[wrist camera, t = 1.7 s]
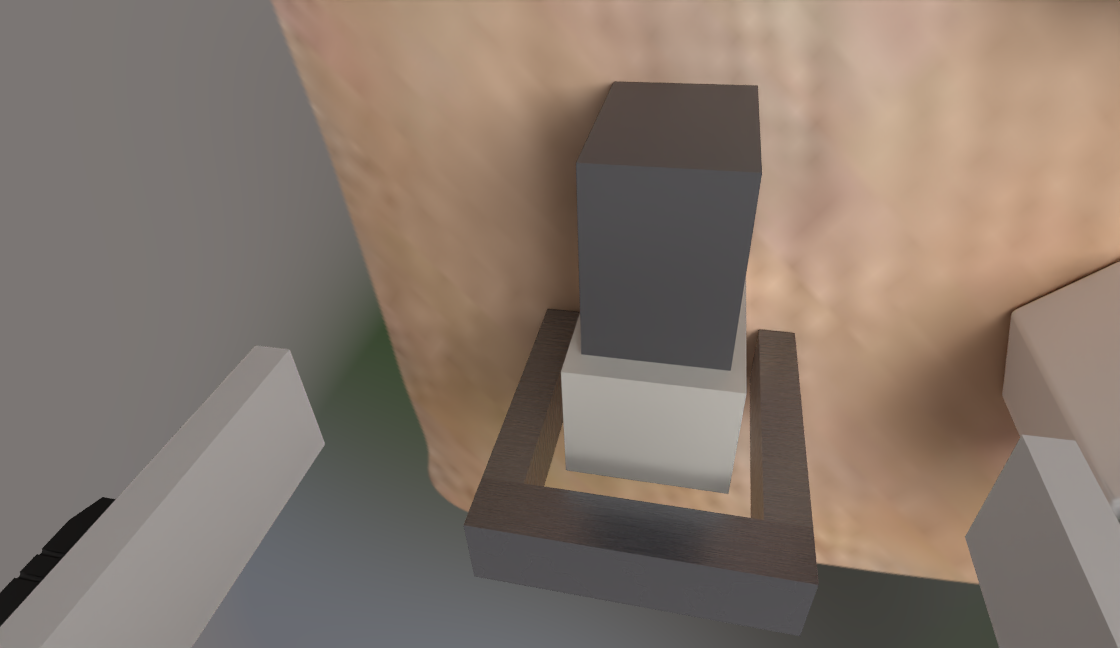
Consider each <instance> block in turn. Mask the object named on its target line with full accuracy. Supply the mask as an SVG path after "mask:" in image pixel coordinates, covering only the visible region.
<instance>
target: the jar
mask: <svg viewBox="0 0 1120 648" xmlns="http://www.w3.org/2000/svg"><path fill="white" fill-rule="evenodd" d="M1002 396H1003V399H1004V401H1005V404H1006V406H1007V408H1008V410H1009V413H1010V415H1011V417H1012V420H1013V422H1014V424H1015V427H1016V429H1017V431H1018V433H1019V436H1020V437H1021V435H1030V436H1039V437H1048V438H1056V439H1065V440H1073V441H1076V442H1077V444H1078V446H1079V448H1080V450H1081V452H1082V454H1083V456H1084V457H1085V459H1086V461H1087V463H1088V465H1089V467H1090V469H1091V471H1092V473H1093V474H1094V476H1095V478H1096V480H1097V482H1098V484H1099V486H1100V488H1101V489H1102V491H1103V493H1104V495H1105V497H1106V499H1107V501H1108V503H1109V505H1110V506H1111V508H1112V510H1113V512H1114V514H1115V516H1116V518H1117V520H1118V521H1119V523H1120V261H1119V262H1116V263H1114V264H1112V265H1110V266H1108V267H1106V268H1103V269H1101V270H1099V271H1097V272H1095V273H1093V274H1091V275H1088V276H1086V277H1084V278H1082V279H1080V280H1078V281H1076V282H1073V283H1071V284H1069V285H1067V286H1065V287H1063V288H1061V289H1058V290H1056V291H1054V292H1052V293H1050V294H1048V295H1045V296H1043V297H1041V298H1039V299H1037V300H1035V301H1033V302H1030V303H1028V304H1026V305H1024V306H1022V307H1020V308H1018V309H1016V310H1014V311H1013V312H1012V314H1011V321H1010V330H1009V338H1008V347H1007V356H1006V365H1005V374H1004V383H1003V391H1002Z"/></svg>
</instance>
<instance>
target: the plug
mask: <svg viewBox="0 0 1120 648" xmlns="http://www.w3.org/2000/svg"><path fill="white" fill-rule="evenodd" d="M761 176H762V163H761V142H760V122H759V101H758V86H752V85H717V84H683V83H648V82H614V83H613V85H612V87H611V89H610V91H609V93H608V95H607V98H606V100H605V102H604V104H603V106H602V108H601V110H600V113H599V115H598V117H597V119H596V121H595V123H594V125H593V128H592V130H591V132H590V134H589V136H588V138H587V140H586V143H585V145H584V147H583V149H582V151H581V153H580V155H579V158H578V160H577V162H576V179H577V216H578V253H579V289H580V314H579V317H578V320H577V323H576V327H575V330H574V333H573V336H572V339H571V342H570V345H569V348H568V351H567V354H566V358H565V361H564V364H563V367H562V370H561V384H562V403H563V421H564V440H565V459H566V470H568V471H575V472H582V473H589V474H596V475H602V476H609V477H616V478H623V479H630V480H637V481H644V482H650V483H657V484H664V485H671V486H678V487H685V488H692V489H698V490H705V491H712V492H719V493H726V494H728V492H729V487H730V481H731V476H732V470H733V465H734V459H735V454H736V449H737V443H738V438H739V432H740V427H741V421H742V416H743V410H744V405H745V399H746V394H747V390H746V271H747V265H748V258H749V252H750V246H751V239H752V233H753V227H754V220H755V214H756V208H757V201H758V195H759V189H760V182H761Z"/></svg>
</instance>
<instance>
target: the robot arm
mask: <svg viewBox="0 0 1120 648" xmlns="http://www.w3.org/2000/svg"><path fill="white" fill-rule="evenodd" d="M324 445H325V443H324V440H323V437H322V434H321V432H320V429H319V427H318V424H317V421H316V418H315V416H314V413H313V410H312V408H311V405H310V403H309V400H308V397H307V394H306V392H305V389H304V386H303V384H302V381H301V379H300V376H299V373H298V370H297V368H296V365H295V363H294V360H293V357H292V355H291V352H290V349H282V348H274V347H264V346H256V345H255V347H254V348H253V349H252V350H251V351H250V352H249V353H248V354H247V355H246V356H245V357H244V359H243V360H242V361H241V362H240V363H239V364H238V365H237V366H236V367H235V368H234V370H233V371H232V372H231V373H230V374H229V375H228V376H227V377H226V379H224V381H223V382H222V383H221V384H220V385H219V386H218V387H217V388H216V390H215V391H214V392H213V393H212V394H211V395H210V396H209V397H208V399H206V401H205V402H204V403H203V404H202V405H201V406H200V407H199V408H198V409H197V410H196V412H195V413H194V414H193V415H192V416H191V417H190V418H189V419H188V420H187V421H186V423H185V424H184V425H183V426H182V427H181V428H180V429H179V430H178V431H177V432H176V434H175V435H174V436H173V437H172V438H171V439H170V440H169V441H168V442H167V443H166V445H165V446H164V447H163V448H162V449H161V450H160V451H159V452H158V453H157V454H156V456H155V457H154V458H153V459H152V460H151V461H150V462H149V463H148V465H147V466H146V467H145V468H144V469H143V470H142V471H141V472H140V473H139V474H138V475H137V477H136V478H135V479H134V480H133V481H132V482H131V483H130V484H129V486H127V488H126V489H125V490H124V491H123V492H122V493H121V494H120V495H119V497H118V498H117V499H110V498H104V497H102V498H101V499H99V500H98V501H96V502H95V503H93V504H92V505H90V506H89V507H87V508H86V509H85V510H83V511H82V512H80V513H79V514H77V515H76V516H74V517H73V518H71V519H70V520H69V521H68V522H67V523H66V524H65V525H64V526H63V527H62V528H61V529H60V530H59V531H58V532H57V533H56V535H55V536H54V537H53V538H52V539H51V540H50V541H49V542H48V543H47V544H46V545H45V546H44V547H43V548H42V553H41V554H40V555H38V554H37V555H36V556H35V557H34V558H33V559H32V560H31V561H30V562H29V563H28V564H27V565H26V566H25V567H24V568H23V569H22V570H21V571H20V576H19V577H18V578H14V579H13V580H12V581H11V582H10V583H9V584H8V585H7V586H6V587H5V588H4V590H2V592H1V593H0V648H192V646H193V645H194V643H195V642H196V640H197V639H198V637H199V636H200V634H201V632H202V631H203V629H204V628H205V626H206V625H207V623H208V622H209V620H210V619H211V617H212V616H213V614H214V613H215V611H216V610H217V608H218V607H219V605H220V604H221V602H222V600H223V599H224V597H225V596H226V594H227V593H228V591H229V590H230V588H231V587H232V585H233V584H234V582H235V581H236V579H237V578H238V576H239V575H240V573H241V571H242V570H243V568H244V567H245V565H246V564H247V562H248V561H249V559H250V557H251V556H252V555H253V553H254V551H255V550H256V549H257V547H258V545H259V544H260V543H261V541H262V539H263V538H264V536H265V535H266V533H267V532H268V530H269V529H270V527H271V526H272V524H273V523H274V521H275V520H276V518H277V516H278V515H279V514H280V512H281V510H282V509H283V507H284V506H285V504H286V503H287V501H288V500H289V498H290V497H291V495H292V494H293V492H294V491H295V489H296V488H297V486H298V484H299V483H300V481H301V480H302V478H303V477H304V475H305V474H306V472H307V471H308V469H309V468H310V466H311V465H312V463H313V462H314V460H315V459H316V457H317V456H318V454H319V453H320V451H321V449H322V448H323V446H324ZM965 538H966V541H967V545H968V548H969V551H970V554H971V558H972V561H973V564H974V567H975V571H976V574H977V577H978V580H979V584H980V587H981V590H982V593H983V596H984V599H985V603H986V606H987V609H988V612H989V616H990V619H991V622H992V625H993V629H994V632H995V635H996V639H997V642H998V645H999V648H1120V523H1119V521H1118V520H1117V518H1116V516H1115V514H1114V512H1113V510H1112V508H1111V506H1110V505H1109V503H1108V501H1107V499H1106V497H1105V495H1104V493H1103V491H1102V489H1101V488H1100V486H1099V484H1098V482H1097V480H1096V478H1095V476H1094V474H1093V473H1092V471H1091V469H1090V467H1089V465H1088V463H1087V461H1086V459H1085V457H1084V456H1083V454H1082V452H1081V450H1080V448H1079V446H1078V444H1077V442H1076V441H1073V440H1065V439H1056V438H1048V437H1039V436H1030V435H1021V437H1020V439H1019V441H1018V443H1017V444H1016V446H1015V448H1014V450H1013V452H1012V453H1011V455H1010V457H1009V459H1008V461H1007V462H1006V464H1005V466H1004V468H1003V470H1002V471H1001V473H1000V475H999V477H998V479H997V480H996V482H995V484H994V486H993V488H992V489H991V491H990V493H989V495H988V497H987V498H986V500H985V502H984V504H983V506H982V507H981V509H980V511H979V513H978V515H977V516H976V518H975V520H974V522H973V524H972V525H971V527H970V529H969V531H968V533H967V534H966V536H965Z"/></svg>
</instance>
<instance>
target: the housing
mask: <svg viewBox="0 0 1120 648" xmlns="http://www.w3.org/2000/svg"><path fill="white" fill-rule="evenodd" d="M578 317H579V312H574V311H564V310H554V309H548V310H547V312H546V315H545V317H544V320H543V322H542V325H541V328H540V330H539V333H538V335H537V338H536V340H535V343H534V346H533V348H532V351H531V353H530V356H529V358H528V361H527V364H526V366H525V369H524V371H523V374H522V376H521V379H520V382H519V384H518V387H517V389H516V392H515V394H514V397H513V399H512V402H511V405H510V407H509V410H508V412H507V415H506V417H505V420H504V423H503V425H502V428H501V430H500V433H499V435H498V438H497V441H496V443H495V446H494V448H493V451H492V453H491V456H490V458H489V461H488V464H487V466H486V469H485V471H484V474H483V476H482V479H481V482H480V484H479V487H478V489H477V492H476V494H475V497H474V500H473V502H472V505H471V507H470V510H469V512H468V515H467V518H466V520H465V523H464V530H465V534H466V538H467V543H468V548H469V553H470V557H471V562H472V567H473V571H474V576H476V577H481V578H487V579H492V580H498V581H503V582H509V583H514V584H519V585H525V586H530V587H536V588H542V589H546V590H552V591H557V592H563V593H568V594H574V595H579V596H585V597H591V598H595V599H601V600H606V601H612V602H617V603H623V604H628V605H634V606H639V607H645V608H650V609H655V610H661V611H666V612H672V613H677V614H683V615H688V616H694V617H699V618H705V619H710V620H715V621H721V622H726V623H732V624H737V625H743V626H748V627H753V628H759V629H764V630H771V631H775V632H781V633H786V634H792V635H797V636H800V634H801V631H802V629H803V626H804V623H805V621H806V618H807V615H808V612H809V610H810V607H811V604H812V601H813V599H814V596H815V593H816V590H817V588H818V575H817V564H816V553H815V543H814V532H813V521H812V511H811V500H810V490H809V479H808V468H807V458H806V447H805V436H804V426H803V415H802V405H801V394H800V383H799V373H798V362H797V351H796V341H795V333H787V332H777V331H767V330H759V332H758V338H757V343H756V349H755V354H754V359H753V365H752V370H751V376H750V480H751V518H747V517H741V516H734V515H727V514H721V513H714V512H708V511H701V510H695V509H688V508H682V507H675V506H668V505H662V504H655V503H649V502H642V501H636V500H629V499H623V498H616V497H609V496H603V495H596V494H590V493H583V492H577V491H570V490H564V489H557V488H550V487H544V485H545V481H546V478H547V475H548V471H549V468H550V464H551V461H552V457H553V454H554V451H555V447H556V444H557V440H558V437H559V434H560V430H561V427H562V423H563V403H562V384H561V370H562V367H563V364H564V361H565V358H566V354H567V351H568V348H569V345H570V342H571V339H572V336H573V333H574V330H575V327H576V323H577V320H578Z"/></svg>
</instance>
